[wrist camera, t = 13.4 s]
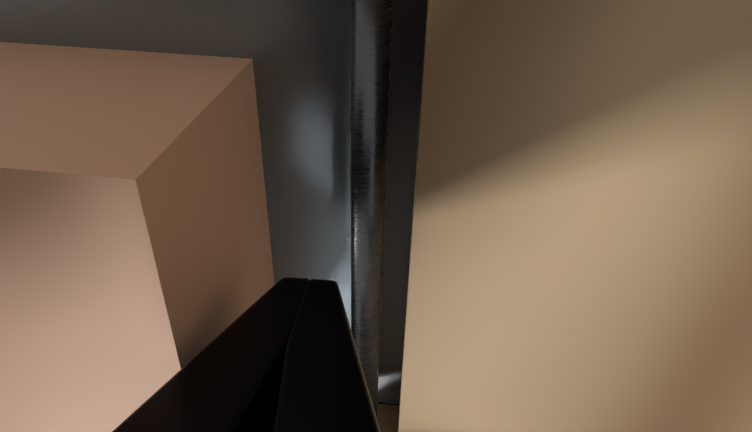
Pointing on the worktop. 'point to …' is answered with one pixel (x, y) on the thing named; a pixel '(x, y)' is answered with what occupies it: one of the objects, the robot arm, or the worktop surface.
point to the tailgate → (278, 118)
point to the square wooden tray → (581, 219)
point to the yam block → (121, 225)
